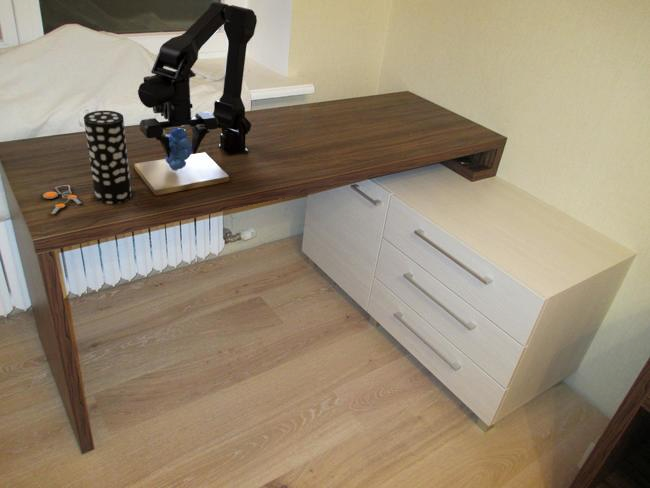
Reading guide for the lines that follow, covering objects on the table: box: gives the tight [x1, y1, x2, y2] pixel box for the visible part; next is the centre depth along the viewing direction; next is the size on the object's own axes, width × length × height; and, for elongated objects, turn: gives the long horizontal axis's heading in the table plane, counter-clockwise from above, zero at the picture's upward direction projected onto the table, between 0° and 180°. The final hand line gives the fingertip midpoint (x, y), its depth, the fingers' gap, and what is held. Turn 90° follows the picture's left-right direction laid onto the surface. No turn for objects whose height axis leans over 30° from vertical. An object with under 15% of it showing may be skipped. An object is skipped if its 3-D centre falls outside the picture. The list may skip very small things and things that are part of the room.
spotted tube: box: [83, 110, 132, 205], centre depth 127 cm, size 8×8×20 cm
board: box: [133, 152, 230, 196], centre depth 145 cm, size 20×16×2 cm
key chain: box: [42, 184, 82, 215], centre depth 128 cm, size 13×7×1 cm, turn 31°
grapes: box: [164, 128, 193, 171], centre depth 141 cm, size 12×7×12 cm, turn 35°
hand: (181, 155), depth 142 cm, fingers closed on grapes, 7 cm apart
